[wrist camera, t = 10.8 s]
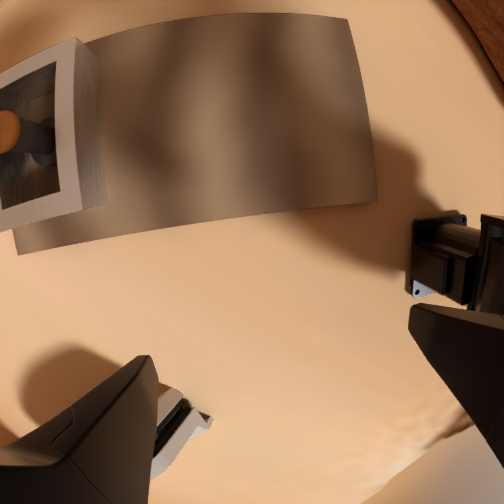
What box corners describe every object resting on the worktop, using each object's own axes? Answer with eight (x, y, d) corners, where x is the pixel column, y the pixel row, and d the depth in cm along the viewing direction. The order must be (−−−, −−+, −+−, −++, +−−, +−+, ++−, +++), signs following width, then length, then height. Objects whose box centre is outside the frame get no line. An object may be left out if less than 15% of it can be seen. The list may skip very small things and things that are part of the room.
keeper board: (342, 24, 16) (394, -28, 8) (370, 200, 20) (447, 213, 12) (13, 81, 14) (-49, 56, 6) (24, 252, 17) (-44, 286, 9)
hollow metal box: (99, 60, 14) (76, 36, 10) (109, 203, 17) (83, 209, 13) (19, 93, 13) (-12, 81, 10) (26, 224, 16) (-7, 234, 12)
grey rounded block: (115, 472, 23) (72, 520, 13) (87, 442, 24) (36, 484, 14) (217, 417, 22) (183, 490, 12) (180, 378, 23) (125, 436, 13)
